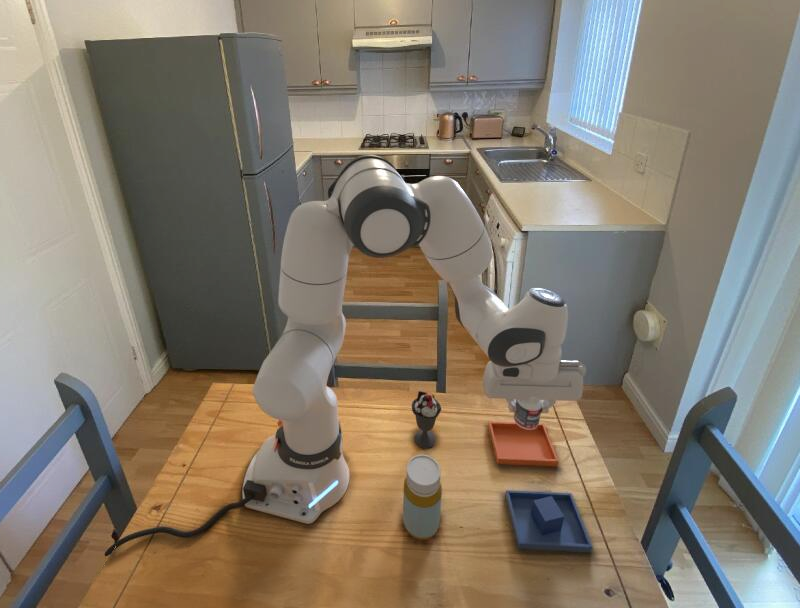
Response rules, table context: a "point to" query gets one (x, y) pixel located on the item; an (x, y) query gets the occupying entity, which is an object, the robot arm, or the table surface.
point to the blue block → (547, 515)
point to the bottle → (422, 497)
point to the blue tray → (529, 533)
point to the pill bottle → (528, 413)
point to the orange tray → (522, 445)
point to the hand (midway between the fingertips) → (527, 410)
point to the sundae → (425, 418)
